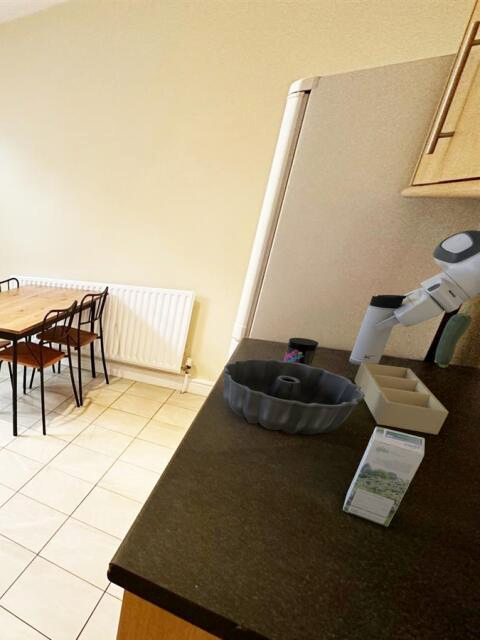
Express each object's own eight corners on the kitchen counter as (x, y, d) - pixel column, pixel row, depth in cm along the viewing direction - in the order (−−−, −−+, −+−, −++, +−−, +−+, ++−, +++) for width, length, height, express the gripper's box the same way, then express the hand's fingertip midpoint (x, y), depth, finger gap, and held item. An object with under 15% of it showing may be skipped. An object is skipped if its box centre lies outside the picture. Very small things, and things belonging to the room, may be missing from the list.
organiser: (401, 387, 111) (410, 368, 109) (437, 434, 90) (448, 412, 88) (354, 380, 116) (361, 362, 114) (377, 424, 95) (386, 402, 92)
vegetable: (427, 366, 124) (457, 300, 116) (428, 362, 126) (457, 297, 118) (449, 370, 121) (481, 302, 113) (450, 366, 123) (481, 300, 115)
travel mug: (369, 368, 115) (396, 297, 107) (343, 361, 120) (367, 292, 113) (384, 366, 116) (413, 295, 108) (358, 358, 122) (383, 290, 114)
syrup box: (390, 510, 69) (426, 436, 63) (387, 529, 66) (426, 452, 60) (346, 495, 73) (376, 424, 67) (341, 512, 69) (372, 438, 63)
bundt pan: (383, 444, 87) (401, 402, 83) (258, 448, 87) (271, 406, 83) (292, 391, 111) (303, 356, 107) (194, 394, 111) (202, 360, 107)
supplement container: (278, 369, 126) (287, 336, 121) (305, 372, 122) (316, 339, 118) (280, 377, 120) (290, 343, 116) (309, 381, 117) (320, 346, 113)
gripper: (425, 277, 112) (364, 308, 122) (439, 289, 98) (369, 323, 108) (442, 295, 112) (379, 325, 121) (459, 310, 97) (386, 343, 107)
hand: (375, 324), depth 114 cm, fingers closed on travel mug, 6 cm apart
